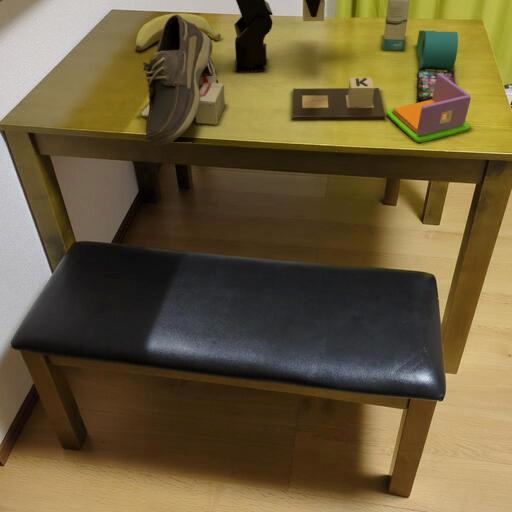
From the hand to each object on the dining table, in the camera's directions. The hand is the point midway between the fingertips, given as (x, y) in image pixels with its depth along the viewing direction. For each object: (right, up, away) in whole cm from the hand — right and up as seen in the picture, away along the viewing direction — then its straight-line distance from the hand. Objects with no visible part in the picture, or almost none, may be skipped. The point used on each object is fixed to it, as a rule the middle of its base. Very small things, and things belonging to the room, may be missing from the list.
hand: (313, 12), depth 128 cm
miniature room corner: (+21, -28, -15) cm, 38 cm away
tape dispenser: (+28, -9, +5) cm, 30 cm away
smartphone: (+25, -18, -5) cm, 32 cm away
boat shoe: (-26, -22, -13) cm, 37 cm away
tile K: (+9, -22, -10) cm, 26 cm away
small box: (-21, -20, -9) cm, 30 cm away
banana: (-32, 0, +18) cm, 36 cm away
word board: (+4, -23, -9) cm, 25 cm away
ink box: (+21, -2, +13) cm, 25 cm away
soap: (-33, -23, -6) cm, 41 cm away
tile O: (0, -1, +1) cm, 1 cm away
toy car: (-25, -15, +1) cm, 29 cm away
